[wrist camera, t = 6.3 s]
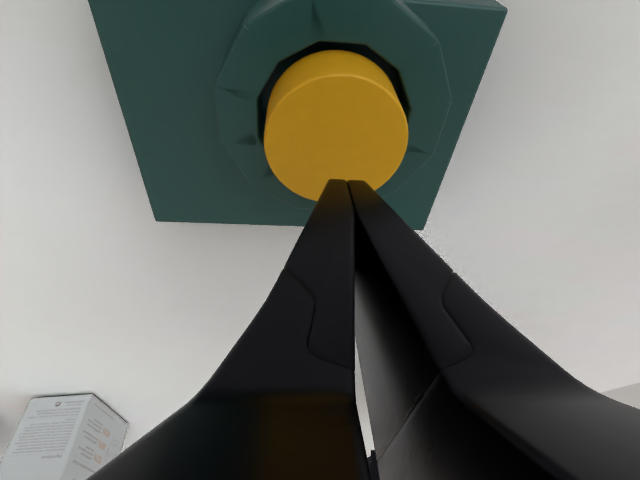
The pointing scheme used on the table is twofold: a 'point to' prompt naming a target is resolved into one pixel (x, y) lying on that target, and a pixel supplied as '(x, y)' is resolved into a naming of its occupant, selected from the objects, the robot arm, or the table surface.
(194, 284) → the table surface
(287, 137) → the cylinder
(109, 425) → the small box
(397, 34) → the teal square base
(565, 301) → the table surface
